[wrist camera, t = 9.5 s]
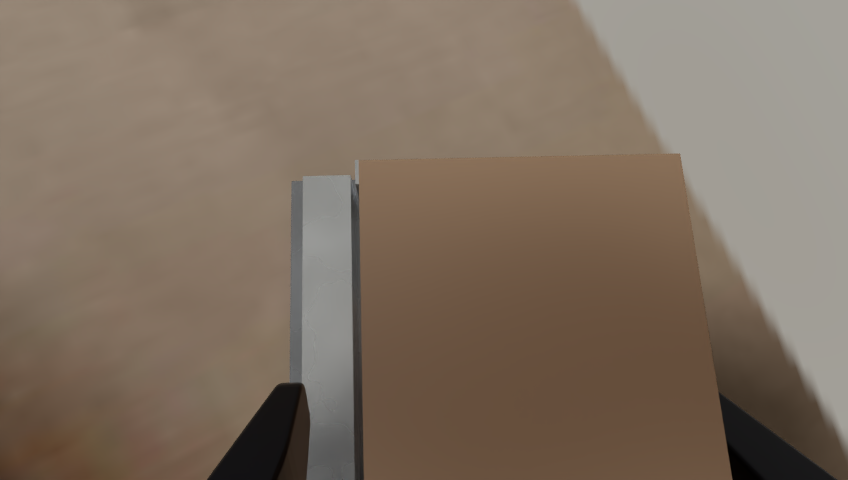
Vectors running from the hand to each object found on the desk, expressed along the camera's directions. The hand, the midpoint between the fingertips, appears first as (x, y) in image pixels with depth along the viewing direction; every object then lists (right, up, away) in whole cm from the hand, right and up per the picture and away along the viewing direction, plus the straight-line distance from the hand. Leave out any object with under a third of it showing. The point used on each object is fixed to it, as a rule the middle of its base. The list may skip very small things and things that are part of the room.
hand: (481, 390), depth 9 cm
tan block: (0, -2, +8) cm, 9 cm away
